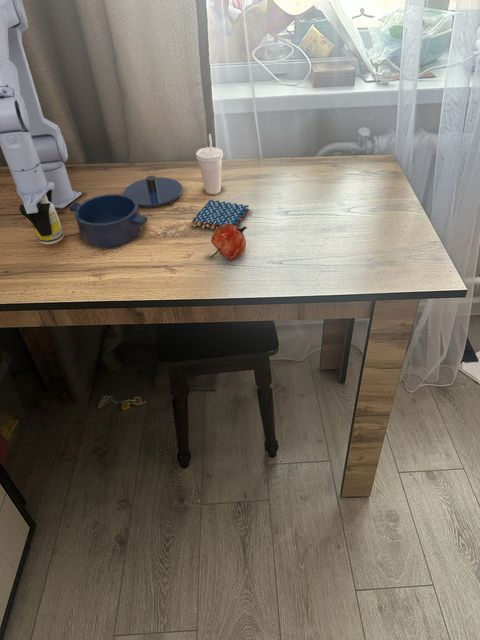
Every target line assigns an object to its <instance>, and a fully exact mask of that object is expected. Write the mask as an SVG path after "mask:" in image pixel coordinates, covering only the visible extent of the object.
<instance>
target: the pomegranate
mask: <svg viewBox="0 0 480 640" xmlns="http://www.w3.org/2000/svg"><path fill="white" fill-rule="evenodd" d="M246 229H248V226H246V225H244V226H243V227H241V228H240V227H239V228H238V226H237V227H236V226H234V225H231V224H224V225H221V226H220V227H218V228H217V229H216V228H215V231H214V232H213V234H212V236H211V240H210V242H211V244H212V245H213V246H214V247H215V249H217V250H216V251H215V252H214V253H213V254H212V255H210V256H209V258H210V259H212V258H213V257H214V256H215V255H217V254H218V253H219V254H220V255H222V256H223V257H225V258H227V260H229V261H234V260H236V259H239V258H240V257H241V256H242V255H243V254H244V252H245V251H246V248H247V240H246V236H245V234H244V231H245V230H246Z"/></svg>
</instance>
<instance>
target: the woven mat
mask: <svg viewBox="0 0 480 640" xmlns="http://www.w3.org/2000/svg"><path fill="white" fill-rule="evenodd" d="M249 207H250V205H248V204H247V205H245V204H243V203H241V204H238V203H237V202H234V203H233V202H232V201H231V202H230V201H229V202H228V201H225V200H223V201H220V200H215V199H210V200H208V201H207V203H206V204H204V206H203V207H202V208H201V209H200V210H199V211H198V213H197V214H196V215H195V216H194V217H193V220H191V222H192V223H193V225H192V227H193V228H195V227H196V226H197V227H200V226H201V229H202V230H205V228H207V229H209V228H210V229H211V230H214V229H215V230H216V229H217V228H218V227H220V226H221V225H224V224H231V225H234V226H236V227H237V228H238V226H239V224H240V223H241V222H243V219H244V218H245V216H246V214H247V213H248V212H250V209H249Z"/></svg>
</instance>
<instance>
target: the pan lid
mask: <svg viewBox="0 0 480 640" xmlns="http://www.w3.org/2000/svg"><path fill="white" fill-rule="evenodd" d="M183 190H184V189H183V185H182V184H181V183H180V182H179V181H177V180H175V179H174V178H169V177H161V176H159V177H156V176H155V175H148V176H146V177H145V178H143V179H140V180H139V179H138V180H137V181H135V182H133V183H131V184H129V185H128V186H127V187H126V188H125V189H124V191H123V195H126V196H129V197H131V198H133V199H135V200H136V202H137V204H138V207H141V208H152V207H153V208H154V207H160V206H164V205H167V204H170V203H172V202H174V201H176V200H178V199H179V198H180V197H181V196H182V194H183Z"/></svg>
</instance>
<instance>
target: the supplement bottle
mask: <svg viewBox="0 0 480 640" xmlns="http://www.w3.org/2000/svg"><path fill="white" fill-rule="evenodd" d="M40 202H41V204H45V203H50V208H49V218H50V223H51V229H52V235H48V236H41V235H40V234H39V232H38V231H37V230H36V228H35V227H34V225H33V224H32V223H31V225H32V229H33V230H34V233H35V235H36V238H37V240H38V242H39V243H40V244H43V245H53V244H57V243H60V241H62V240H63V239H64V237H65V232H64V229H63V226H62V224H61V221H60V218H59V216H58V212H57V210H56V208H55V207H54V205H53V204H52V203H51V202H49V201H48V198H47V195H46V194H45V195H44V196H43V197H42V198H41V199H40V201H39V203H40Z"/></svg>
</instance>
